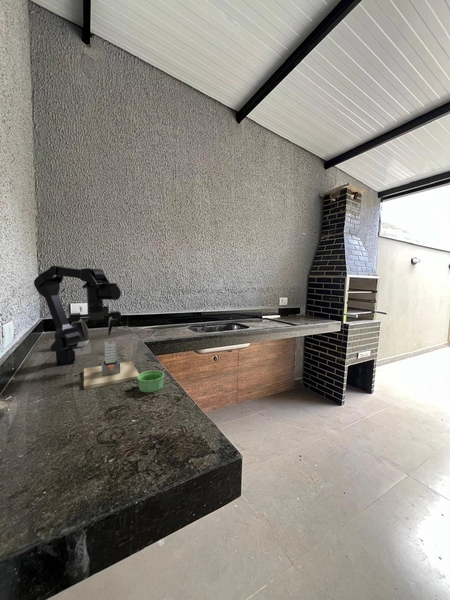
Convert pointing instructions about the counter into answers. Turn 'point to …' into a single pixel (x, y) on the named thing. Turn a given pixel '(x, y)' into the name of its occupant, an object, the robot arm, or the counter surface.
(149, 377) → the ramekin
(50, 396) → the counter surface
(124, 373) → the base
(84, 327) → the pump dispenser
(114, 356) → the steel post
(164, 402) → the counter surface
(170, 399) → the counter surface
